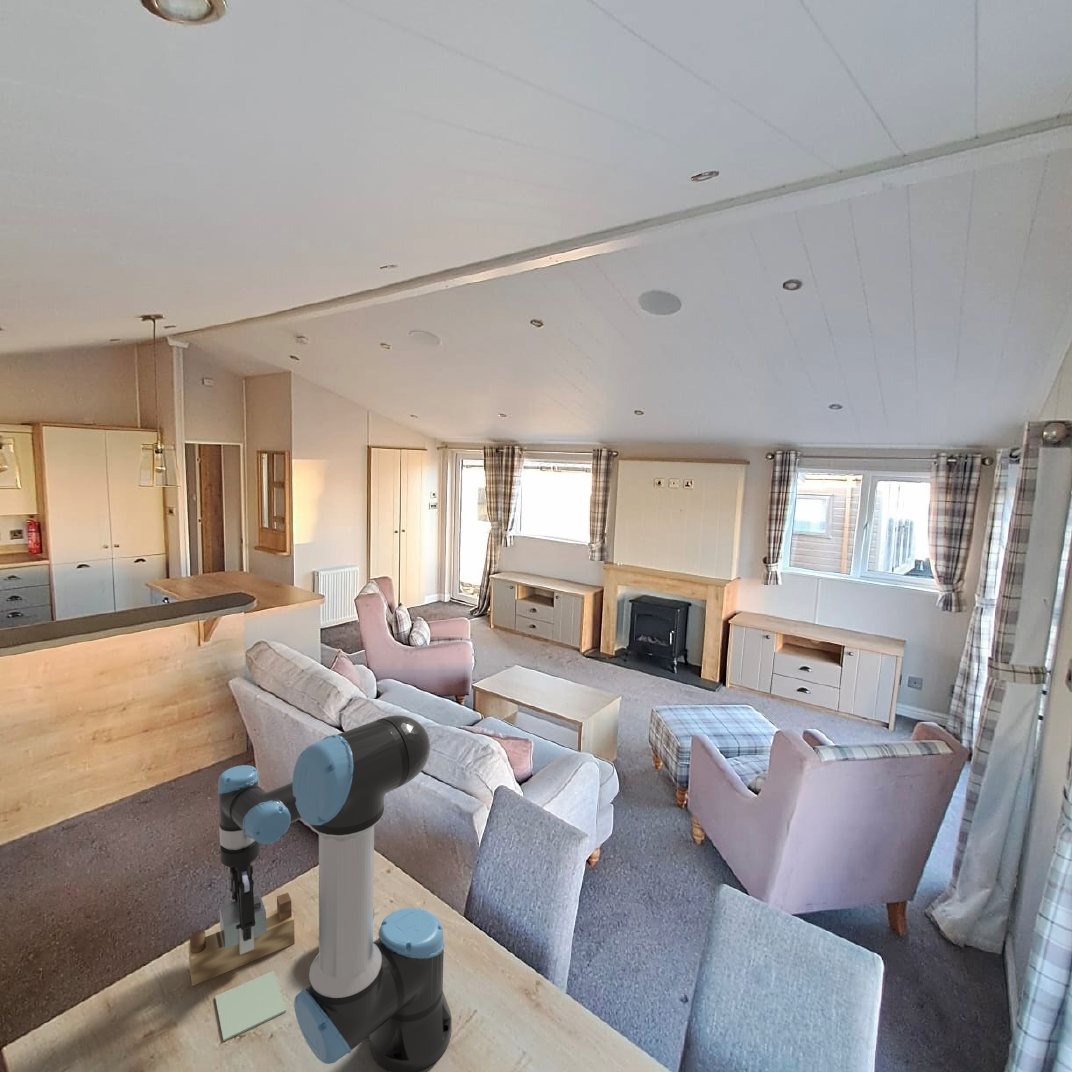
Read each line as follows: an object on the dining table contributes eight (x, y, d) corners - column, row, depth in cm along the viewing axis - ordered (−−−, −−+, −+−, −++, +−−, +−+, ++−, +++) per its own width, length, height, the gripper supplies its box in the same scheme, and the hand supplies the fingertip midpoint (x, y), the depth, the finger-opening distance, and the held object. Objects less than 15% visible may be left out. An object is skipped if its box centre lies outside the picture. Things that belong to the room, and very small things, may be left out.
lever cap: (266, 932, 128) (265, 907, 127) (225, 949, 124) (224, 923, 123) (260, 912, 134) (259, 888, 133) (220, 927, 129) (219, 902, 128)
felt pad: (286, 1011, 117) (286, 1009, 117) (223, 1041, 110) (223, 1039, 110) (273, 972, 126) (273, 970, 126) (215, 997, 119) (215, 996, 119)
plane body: (289, 929, 137) (288, 889, 136) (294, 943, 133) (293, 902, 132) (189, 969, 126) (187, 926, 125) (192, 986, 122) (190, 941, 121)
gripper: (269, 859, 120) (272, 962, 123) (250, 811, 137) (253, 903, 139) (227, 872, 116) (231, 979, 119) (213, 822, 132) (217, 917, 135)
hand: (243, 938), depth 129 cm, fingers closed on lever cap, 7 cm apart
